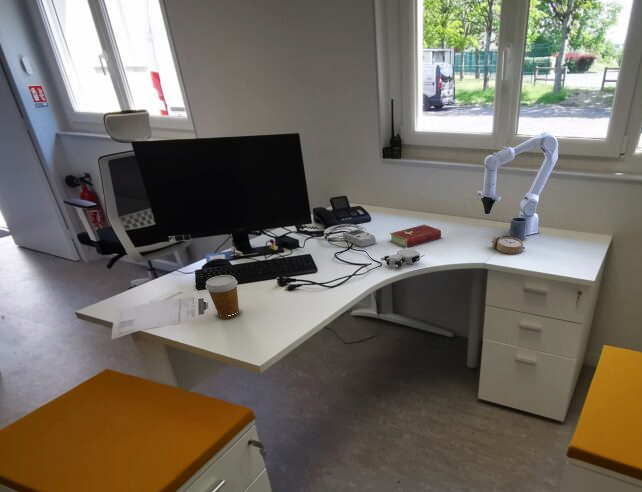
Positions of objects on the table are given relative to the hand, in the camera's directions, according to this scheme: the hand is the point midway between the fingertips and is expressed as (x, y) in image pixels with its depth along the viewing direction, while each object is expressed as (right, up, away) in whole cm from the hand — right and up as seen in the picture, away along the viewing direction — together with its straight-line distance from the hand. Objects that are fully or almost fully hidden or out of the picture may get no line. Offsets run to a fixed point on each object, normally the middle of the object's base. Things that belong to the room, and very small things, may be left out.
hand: (487, 213), depth 215 cm
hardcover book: (-34, -14, -3) cm, 37 cm away
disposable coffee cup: (-95, -54, -66) cm, 128 cm away
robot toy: (-40, -30, -29) cm, 57 cm away
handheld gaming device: (-60, -15, -5) cm, 62 cm away
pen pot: (+13, -13, -2) cm, 18 cm away
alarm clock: (+6, -20, -13) cm, 25 cm away
